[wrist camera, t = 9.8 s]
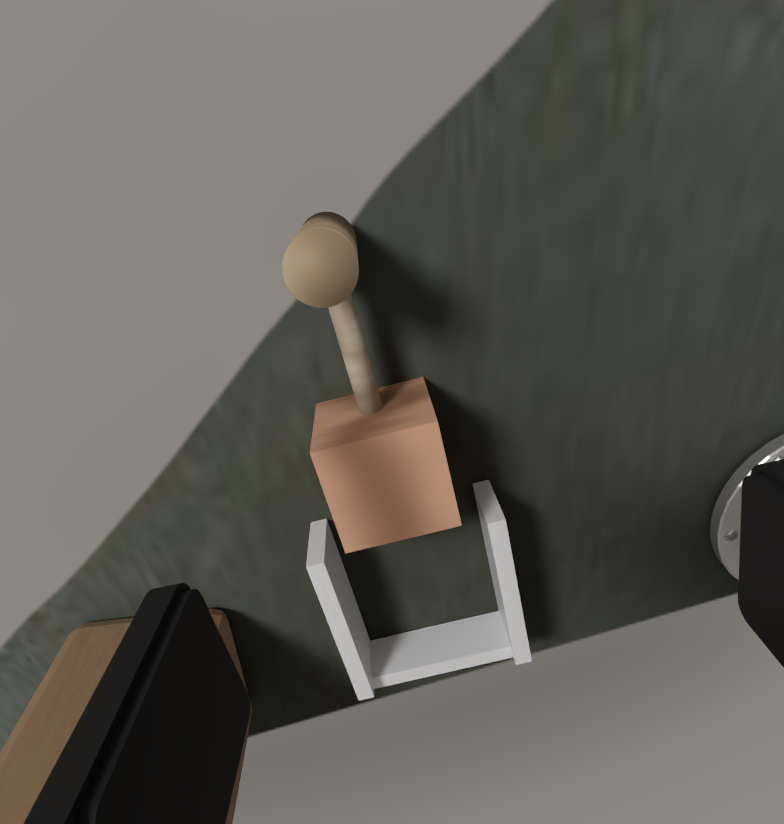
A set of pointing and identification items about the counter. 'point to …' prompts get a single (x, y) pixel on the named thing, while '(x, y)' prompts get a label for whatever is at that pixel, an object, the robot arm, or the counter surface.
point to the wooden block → (71, 712)
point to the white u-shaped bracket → (424, 646)
